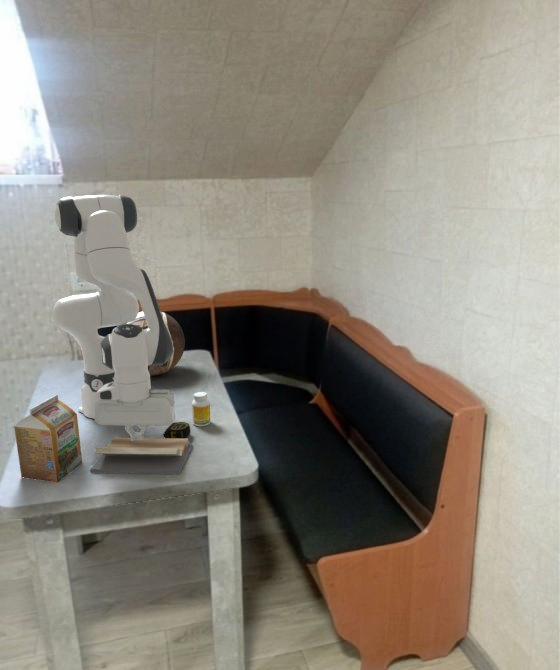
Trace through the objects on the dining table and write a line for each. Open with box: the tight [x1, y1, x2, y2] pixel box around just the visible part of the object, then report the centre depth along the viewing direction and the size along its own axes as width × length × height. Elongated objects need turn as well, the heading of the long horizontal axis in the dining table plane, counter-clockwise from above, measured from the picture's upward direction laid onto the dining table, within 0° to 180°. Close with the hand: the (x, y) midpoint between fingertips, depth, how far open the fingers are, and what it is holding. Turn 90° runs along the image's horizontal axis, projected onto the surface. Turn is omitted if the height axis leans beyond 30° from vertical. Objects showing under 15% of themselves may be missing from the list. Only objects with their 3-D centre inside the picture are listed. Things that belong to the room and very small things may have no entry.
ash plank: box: [94, 446, 182, 456], centre depth 151 cm, size 7×21×2 cm, turn 86°
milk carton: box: [13, 394, 83, 484], centre depth 147 cm, size 11×11×19 cm
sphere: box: [126, 311, 186, 377], centre depth 221 cm, size 25×25×25 cm
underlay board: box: [90, 442, 193, 475], centre depth 154 cm, size 16×23×1 cm
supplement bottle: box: [191, 391, 211, 427], centre depth 176 cm, size 5×5×10 cm
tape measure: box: [162, 421, 191, 439], centre depth 167 cm, size 7×7×4 cm
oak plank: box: [107, 437, 190, 455], centre depth 158 cm, size 7×21×2 cm, turn 86°
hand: (137, 439), depth 149 cm, fingers closed
